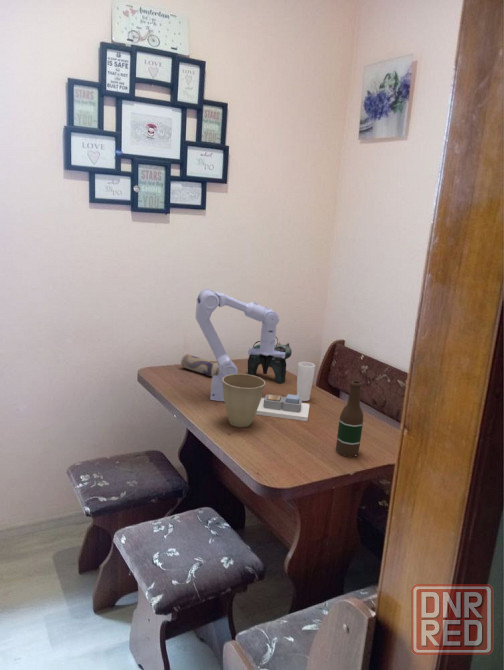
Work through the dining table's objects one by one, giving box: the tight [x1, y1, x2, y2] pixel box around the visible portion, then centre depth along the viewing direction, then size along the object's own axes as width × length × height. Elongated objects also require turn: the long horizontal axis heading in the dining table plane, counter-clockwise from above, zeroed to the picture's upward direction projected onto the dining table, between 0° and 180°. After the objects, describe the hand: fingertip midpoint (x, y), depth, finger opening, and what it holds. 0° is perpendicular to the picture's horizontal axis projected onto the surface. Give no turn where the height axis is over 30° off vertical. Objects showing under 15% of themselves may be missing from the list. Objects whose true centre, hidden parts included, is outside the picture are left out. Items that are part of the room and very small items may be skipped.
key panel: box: [255, 394, 310, 422], centre depth 204 cm, size 20×14×4 cm
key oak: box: [268, 394, 281, 402], centre depth 204 cm, size 4×4×2 cm
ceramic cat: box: [247, 336, 293, 384], centre depth 237 cm, size 20×6×20 cm, turn 58°
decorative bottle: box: [180, 353, 220, 378], centre depth 238 cm, size 26×8×7 cm, turn 57°
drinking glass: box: [296, 361, 316, 402], centre depth 216 cm, size 7×7×15 cm
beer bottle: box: [335, 380, 364, 457], centre depth 171 cm, size 8×8×24 cm
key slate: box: [286, 393, 299, 404], centre depth 203 cm, size 4×4×2 cm
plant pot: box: [222, 373, 266, 428], centre depth 188 cm, size 15×15×16 cm
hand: (265, 373), depth 214 cm, fingers closed
